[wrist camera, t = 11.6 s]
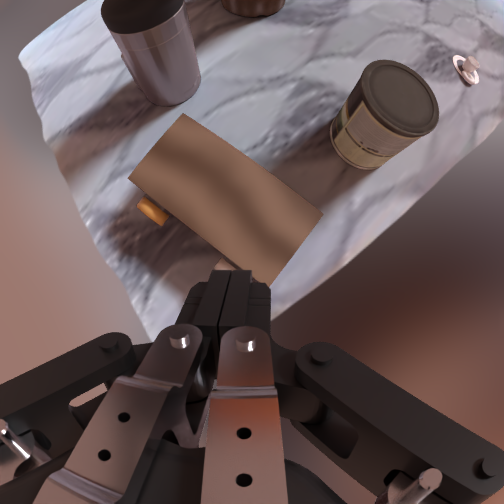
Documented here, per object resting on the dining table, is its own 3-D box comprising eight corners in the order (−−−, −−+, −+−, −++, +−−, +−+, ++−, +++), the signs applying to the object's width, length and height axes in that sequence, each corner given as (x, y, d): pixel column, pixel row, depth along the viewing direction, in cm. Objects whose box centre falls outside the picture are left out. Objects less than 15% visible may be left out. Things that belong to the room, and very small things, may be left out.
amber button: (165, 227, 36) (156, 223, 32) (142, 209, 36) (131, 203, 32) (197, 186, 36) (192, 177, 32) (174, 169, 36) (166, 159, 32)
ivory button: (241, 287, 36) (241, 290, 32) (215, 267, 36) (212, 268, 32) (274, 245, 36) (278, 243, 32) (248, 225, 36) (248, 220, 32)
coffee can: (320, 113, 40) (348, 58, 26) (377, 108, 41) (417, 61, 27) (341, 175, 40) (382, 138, 26) (399, 166, 40) (451, 133, 26)
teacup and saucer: (470, 91, 42) (480, 83, 38) (445, 62, 42) (454, 53, 38) (481, 78, 43) (490, 71, 39) (458, 52, 43) (467, 44, 39)
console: (262, 283, 39) (267, 288, 31) (148, 193, 39) (127, 178, 31) (308, 223, 40) (323, 214, 32) (193, 138, 40) (182, 113, 32)
